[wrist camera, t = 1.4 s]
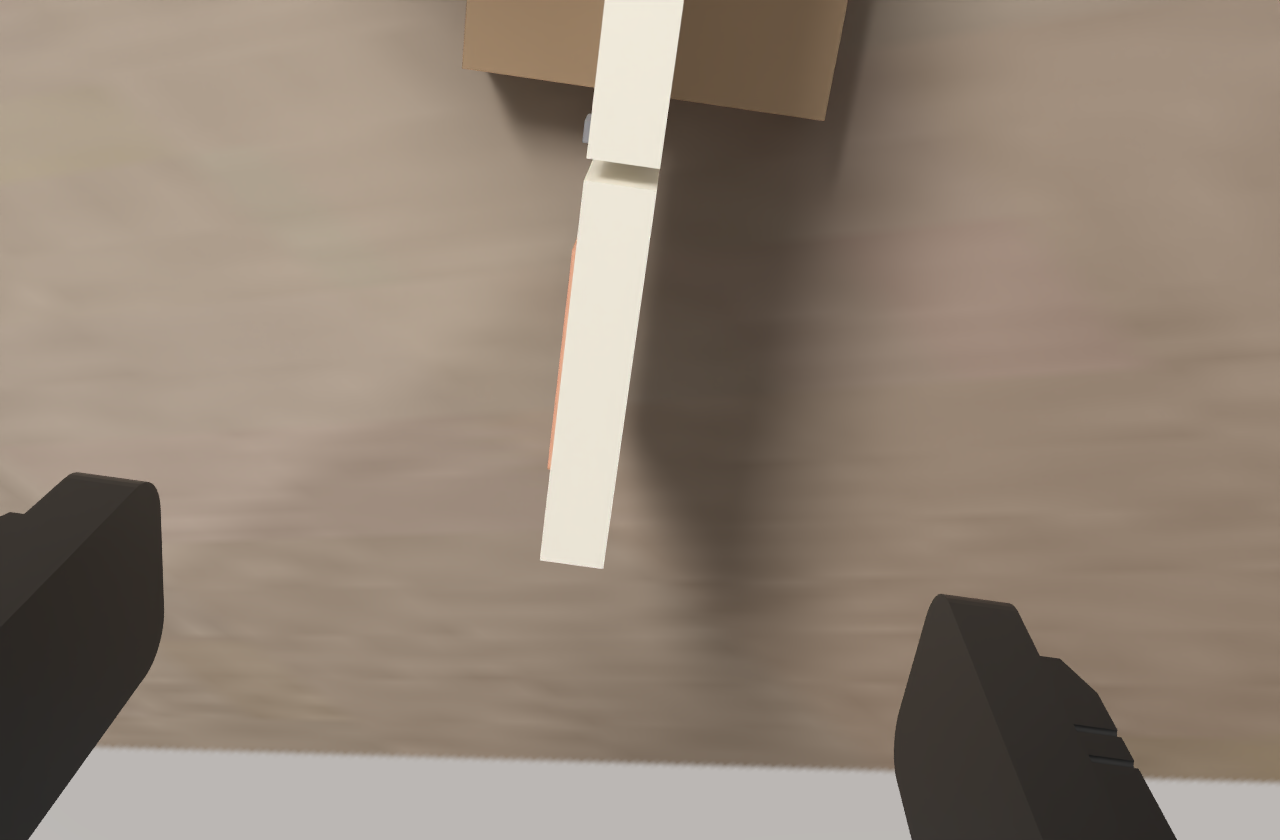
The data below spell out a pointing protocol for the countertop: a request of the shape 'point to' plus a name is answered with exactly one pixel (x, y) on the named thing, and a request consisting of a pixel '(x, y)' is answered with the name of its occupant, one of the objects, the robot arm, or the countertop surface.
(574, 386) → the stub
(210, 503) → the countertop surface
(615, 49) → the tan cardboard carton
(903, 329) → the countertop surface
